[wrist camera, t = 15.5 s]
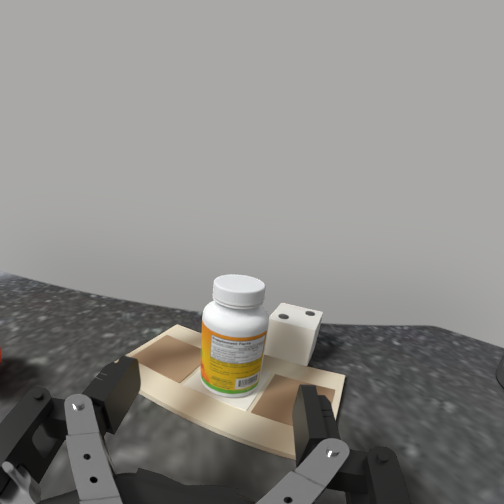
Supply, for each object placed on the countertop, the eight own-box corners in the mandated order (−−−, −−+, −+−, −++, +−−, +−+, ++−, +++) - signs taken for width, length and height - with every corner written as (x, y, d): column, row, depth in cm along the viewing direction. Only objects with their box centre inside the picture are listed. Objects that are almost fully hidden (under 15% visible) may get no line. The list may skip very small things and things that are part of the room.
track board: (343, 379, 26) (345, 374, 25) (321, 466, 15) (324, 461, 15) (177, 328, 33) (177, 323, 33) (106, 372, 22) (105, 366, 22)
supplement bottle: (211, 358, 27) (217, 267, 24) (263, 370, 26) (278, 278, 23) (191, 390, 21) (193, 286, 19) (252, 405, 20) (269, 301, 18)
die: (314, 348, 32) (323, 311, 31) (305, 370, 27) (315, 329, 26) (275, 338, 33) (282, 301, 32) (261, 358, 29) (267, 317, 28)
